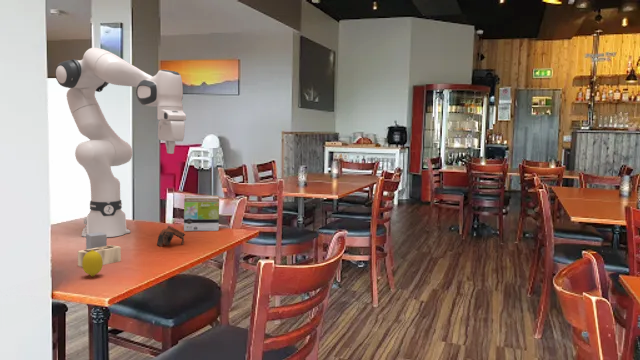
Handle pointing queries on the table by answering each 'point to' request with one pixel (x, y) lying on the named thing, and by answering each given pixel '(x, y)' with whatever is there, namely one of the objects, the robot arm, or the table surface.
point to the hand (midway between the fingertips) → (170, 153)
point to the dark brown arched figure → (169, 236)
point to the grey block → (96, 240)
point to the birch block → (103, 254)
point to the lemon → (92, 263)
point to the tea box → (201, 213)
